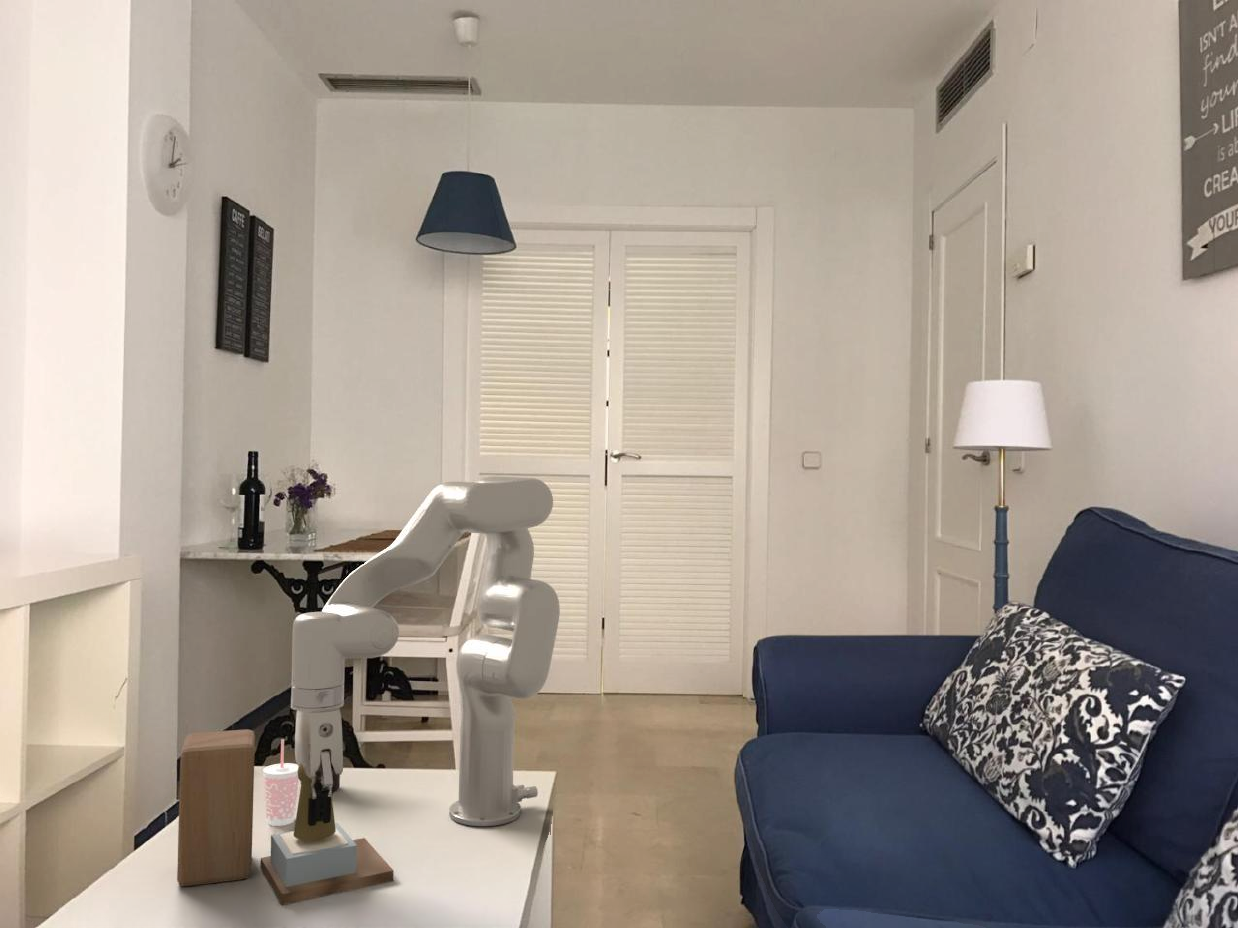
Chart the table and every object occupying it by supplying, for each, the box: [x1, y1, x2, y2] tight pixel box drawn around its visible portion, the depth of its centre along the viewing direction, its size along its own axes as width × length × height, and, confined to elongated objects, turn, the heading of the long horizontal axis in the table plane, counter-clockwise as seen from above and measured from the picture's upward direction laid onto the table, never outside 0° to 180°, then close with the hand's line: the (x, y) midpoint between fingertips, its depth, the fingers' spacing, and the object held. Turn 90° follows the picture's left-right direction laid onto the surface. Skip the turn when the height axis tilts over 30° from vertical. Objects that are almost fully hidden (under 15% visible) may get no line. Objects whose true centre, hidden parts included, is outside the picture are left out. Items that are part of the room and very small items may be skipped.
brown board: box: [259, 837, 394, 906], centre depth 142 cm, size 16×14×2 cm
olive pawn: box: [293, 763, 336, 840], centre depth 141 cm, size 6×6×11 cm
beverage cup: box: [262, 738, 299, 827], centre depth 162 cm, size 6×6×14 cm
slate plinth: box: [270, 822, 357, 887], centre depth 141 cm, size 10×10×4 cm
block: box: [176, 728, 256, 887], centre depth 142 cm, size 10×10×20 cm
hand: (315, 817), depth 141 cm, fingers closed on olive pawn, 3 cm apart
